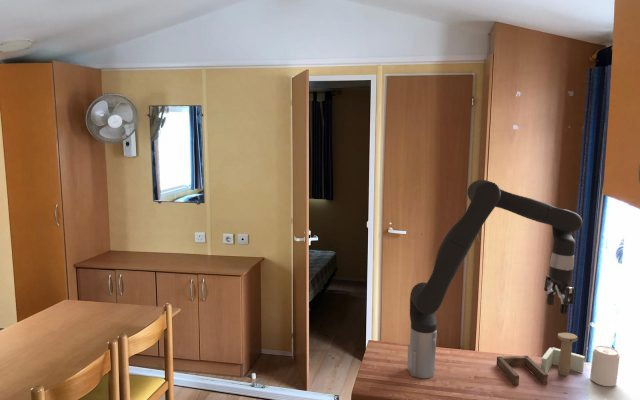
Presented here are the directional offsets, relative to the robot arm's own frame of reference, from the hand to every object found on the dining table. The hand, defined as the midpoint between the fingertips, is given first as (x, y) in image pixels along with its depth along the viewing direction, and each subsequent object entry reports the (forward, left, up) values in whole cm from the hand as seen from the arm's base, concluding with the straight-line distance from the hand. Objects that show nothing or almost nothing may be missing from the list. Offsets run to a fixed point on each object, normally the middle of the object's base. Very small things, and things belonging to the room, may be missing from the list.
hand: (556, 309), depth 175 cm
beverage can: (+15, -8, -25) cm, 30 cm away
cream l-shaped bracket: (+4, +3, -24) cm, 25 cm away
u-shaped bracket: (-12, -1, -25) cm, 27 cm away
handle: (+4, -2, -25) cm, 25 cm away
